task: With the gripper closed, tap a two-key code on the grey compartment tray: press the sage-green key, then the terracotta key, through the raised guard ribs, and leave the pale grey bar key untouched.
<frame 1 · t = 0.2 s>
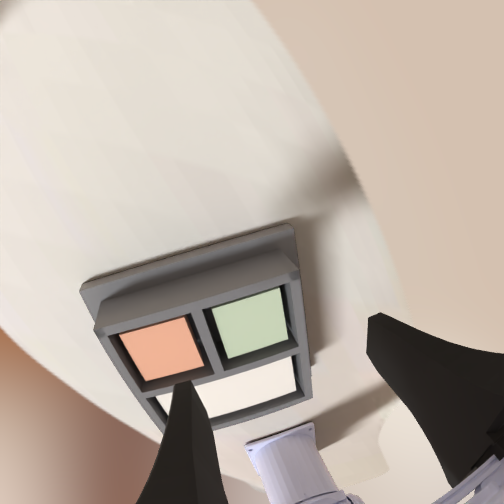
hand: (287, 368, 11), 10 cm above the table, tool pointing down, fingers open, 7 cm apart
terracotta key: (162, 344, 18), point 3 cm above the table, slide at 0.0 cm
green key: (249, 318, 19), point 3 cm above the table, slide at 0.0 cm
grey compartment tray: (210, 337, 22), on the table
space bar: (227, 388, 21), point 3 cm above the table, slide at 0.0 cm
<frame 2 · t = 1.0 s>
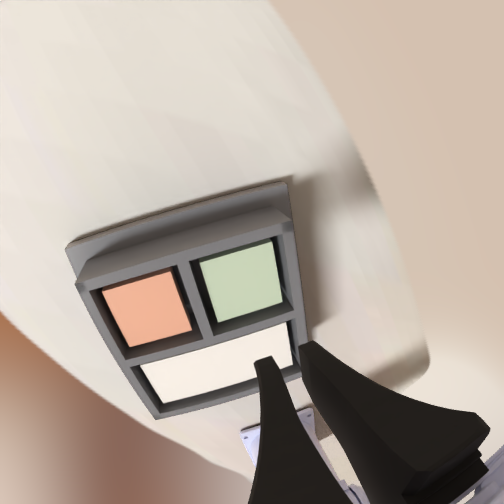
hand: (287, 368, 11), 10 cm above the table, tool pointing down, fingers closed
terracotta key: (148, 305, 17), point 3 cm above the table, slide at 0.0 cm
green key: (240, 277, 18), point 3 cm above the table, slide at 0.0 cm
grey compartment tray: (201, 305, 21), on the table
space bar: (218, 360, 20), point 3 cm above the table, slide at 0.0 cm
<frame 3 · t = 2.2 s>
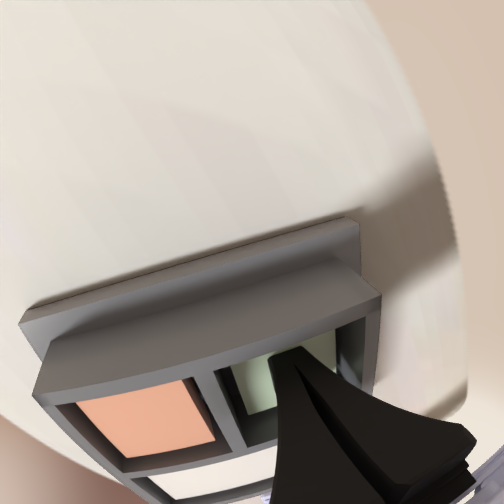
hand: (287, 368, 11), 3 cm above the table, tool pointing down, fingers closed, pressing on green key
terracotta key: (148, 411, 10), point 3 cm above the table, slide at 0.0 cm
green key: (281, 357, 12), point 2 cm above the table, slide at 0.8 cm, touching gripper
grey compartment tray: (222, 387, 14), on the table
space bar: (247, 456, 13), point 3 cm above the table, slide at 0.0 cm
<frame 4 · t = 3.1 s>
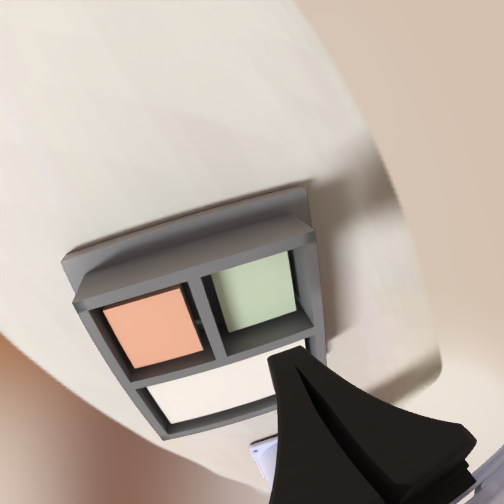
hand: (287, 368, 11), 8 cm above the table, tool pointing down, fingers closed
terracotta key: (154, 323, 15), point 3 cm above the table, slide at 0.0 cm
green key: (252, 285, 17), point 2 cm above the table, slide at 0.8 cm
grey compartment tray: (211, 320, 20), on the table
space bar: (230, 378, 18), point 3 cm above the table, slide at 0.0 cm
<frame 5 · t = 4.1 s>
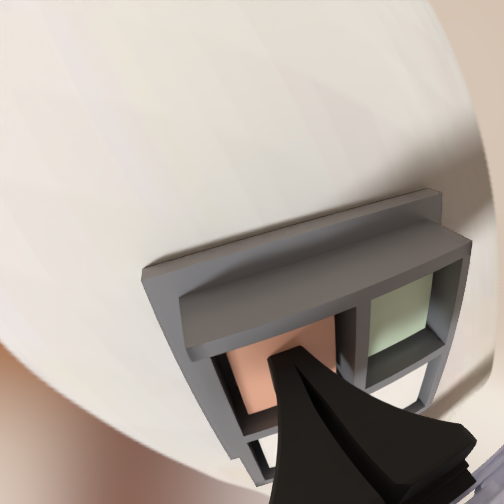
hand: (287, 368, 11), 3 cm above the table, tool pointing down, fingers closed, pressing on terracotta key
terracotta key: (281, 357, 12), point 3 cm above the table, slide at 0.2 cm, touching gripper
green key: (389, 303, 13), point 2 cm above the table, slide at 0.8 cm
grey compartment tray: (322, 344, 16), on the table
space bar: (345, 409, 15), point 3 cm above the table, slide at 0.0 cm
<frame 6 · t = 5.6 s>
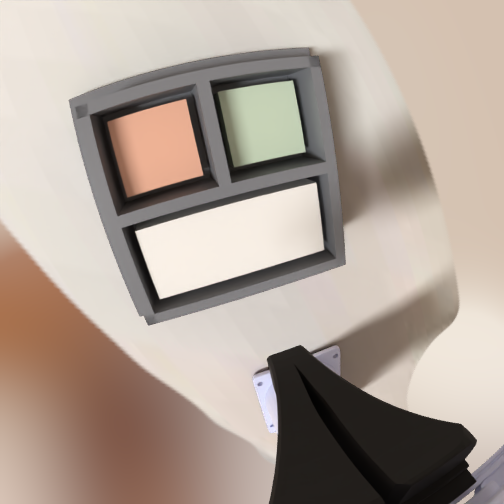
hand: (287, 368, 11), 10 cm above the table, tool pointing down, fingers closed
terracotta key: (155, 147, 15), point 2 cm above the table, slide at 0.8 cm
green key: (259, 122, 16), point 2 cm above the table, slide at 0.8 cm
grey compartment tray: (214, 178, 18), on the table
space bar: (233, 236, 17), point 3 cm above the table, slide at 0.0 cm
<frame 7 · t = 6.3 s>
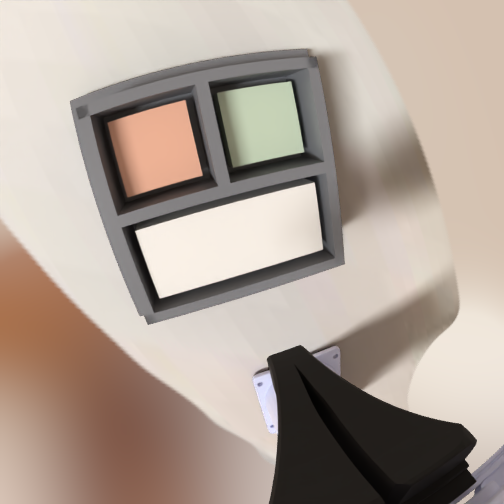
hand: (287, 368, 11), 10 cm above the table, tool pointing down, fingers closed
terracotta key: (155, 147, 15), point 2 cm above the table, slide at 0.8 cm
green key: (258, 122, 16), point 2 cm above the table, slide at 0.8 cm
grey compartment tray: (214, 178, 18), on the table
space bar: (233, 236, 17), point 3 cm above the table, slide at 0.0 cm
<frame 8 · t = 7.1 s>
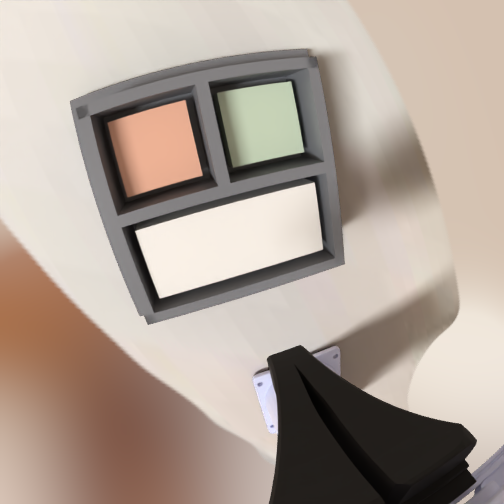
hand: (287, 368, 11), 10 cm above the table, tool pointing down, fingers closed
terracotta key: (155, 147, 15), point 2 cm above the table, slide at 0.8 cm
green key: (258, 122, 16), point 2 cm above the table, slide at 0.8 cm
grey compartment tray: (214, 178, 18), on the table
space bar: (233, 236, 17), point 3 cm above the table, slide at 0.0 cm
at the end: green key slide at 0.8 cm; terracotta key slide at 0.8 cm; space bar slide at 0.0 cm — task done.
